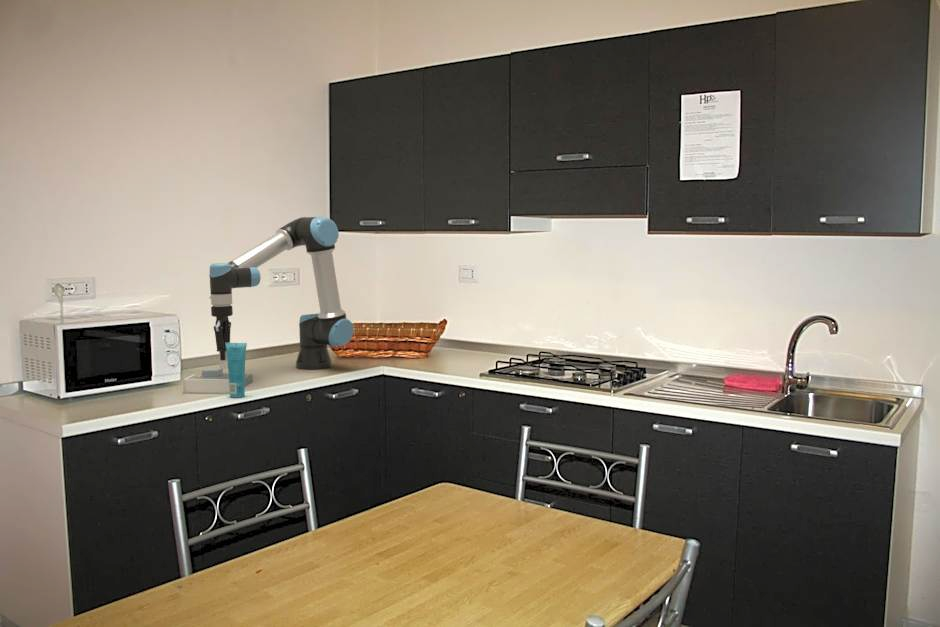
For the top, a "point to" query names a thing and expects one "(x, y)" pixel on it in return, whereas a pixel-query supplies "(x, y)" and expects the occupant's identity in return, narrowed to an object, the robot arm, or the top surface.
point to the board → (226, 376)
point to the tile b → (212, 372)
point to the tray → (205, 385)
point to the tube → (236, 368)
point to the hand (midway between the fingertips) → (224, 368)
